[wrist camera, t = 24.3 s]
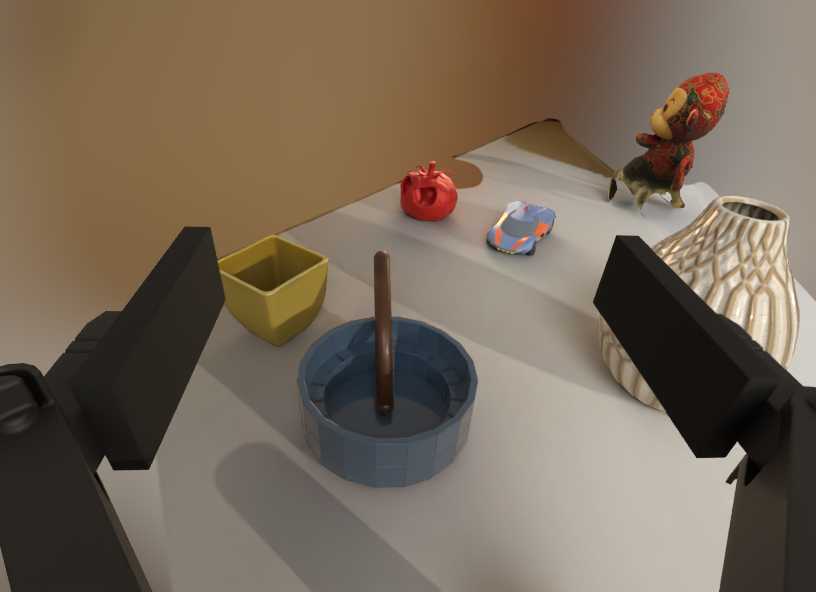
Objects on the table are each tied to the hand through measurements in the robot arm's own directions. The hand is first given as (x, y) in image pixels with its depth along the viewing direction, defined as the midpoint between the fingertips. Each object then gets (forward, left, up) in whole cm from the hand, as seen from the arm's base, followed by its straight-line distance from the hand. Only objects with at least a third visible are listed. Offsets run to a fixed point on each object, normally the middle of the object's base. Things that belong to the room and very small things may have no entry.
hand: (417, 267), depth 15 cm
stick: (0, +15, -25) cm, 29 cm away
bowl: (0, +16, -26) cm, 30 cm away
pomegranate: (+8, +61, -26) cm, 67 cm away
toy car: (+22, +52, -26) cm, 62 cm away
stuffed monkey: (+50, +65, -26) cm, 86 cm away
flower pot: (-12, +29, -26) cm, 41 cm away
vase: (+29, +20, -26) cm, 44 cm away
